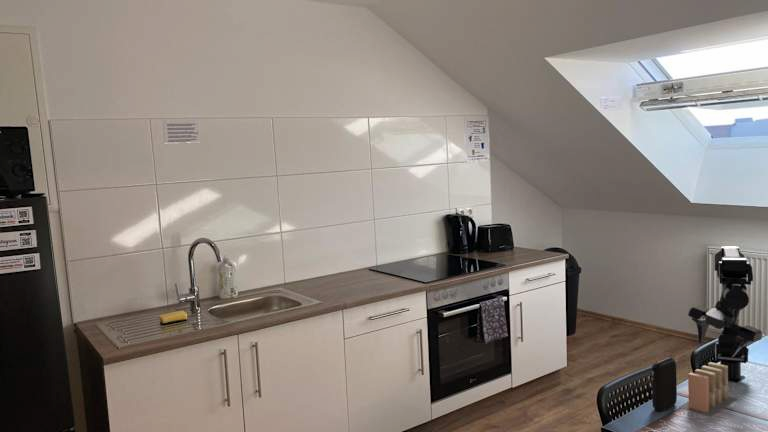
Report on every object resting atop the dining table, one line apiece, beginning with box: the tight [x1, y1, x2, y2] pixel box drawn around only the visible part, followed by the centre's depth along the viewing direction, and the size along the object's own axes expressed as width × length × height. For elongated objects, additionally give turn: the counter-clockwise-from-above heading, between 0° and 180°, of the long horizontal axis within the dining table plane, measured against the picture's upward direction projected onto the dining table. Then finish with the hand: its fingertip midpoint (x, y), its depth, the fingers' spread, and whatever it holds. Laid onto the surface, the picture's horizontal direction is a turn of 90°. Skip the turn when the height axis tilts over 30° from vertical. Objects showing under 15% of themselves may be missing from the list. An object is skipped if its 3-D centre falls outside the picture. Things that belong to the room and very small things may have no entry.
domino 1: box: [687, 372, 709, 413], centre depth 171 cm, size 2×5×10 cm, turn 37°
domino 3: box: [700, 365, 722, 404], centre depth 175 cm, size 2×5×10 cm, turn 37°
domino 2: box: [694, 368, 716, 408], centre depth 173 cm, size 2×5×10 cm, turn 37°
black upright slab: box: [650, 357, 678, 412], centre depth 173 cm, size 11×3×15 cm, turn 123°
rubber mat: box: [679, 395, 738, 417], centre depth 175 cm, size 17×9×1 cm, turn 127°
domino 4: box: [707, 361, 729, 400], centre depth 178 cm, size 2×5×10 cm, turn 37°
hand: (715, 350), depth 175 cm, fingers open, 9 cm apart
